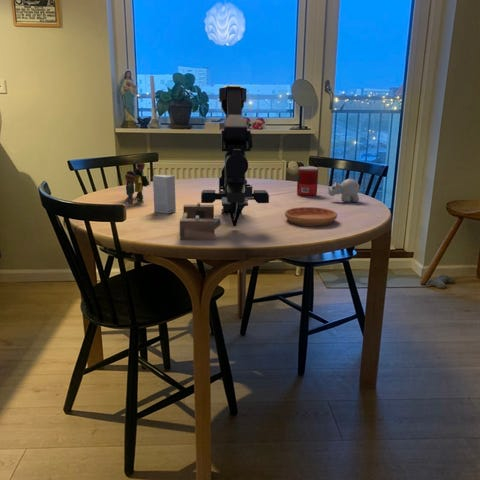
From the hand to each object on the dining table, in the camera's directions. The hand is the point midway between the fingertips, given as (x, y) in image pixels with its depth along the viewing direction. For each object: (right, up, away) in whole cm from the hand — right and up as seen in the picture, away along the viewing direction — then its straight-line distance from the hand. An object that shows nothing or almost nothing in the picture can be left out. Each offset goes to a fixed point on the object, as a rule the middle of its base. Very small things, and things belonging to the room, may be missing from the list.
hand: (234, 226), depth 130 cm
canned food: (+29, +14, +54) cm, 63 cm away
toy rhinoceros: (+40, +11, +43) cm, 60 cm away
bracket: (-7, -1, +3) cm, 8 cm away
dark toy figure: (-37, +10, +38) cm, 54 cm away
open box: (-10, -1, 0) cm, 10 cm away
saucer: (+23, +2, +12) cm, 26 cm away
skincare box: (-23, +5, +21) cm, 32 cm away
